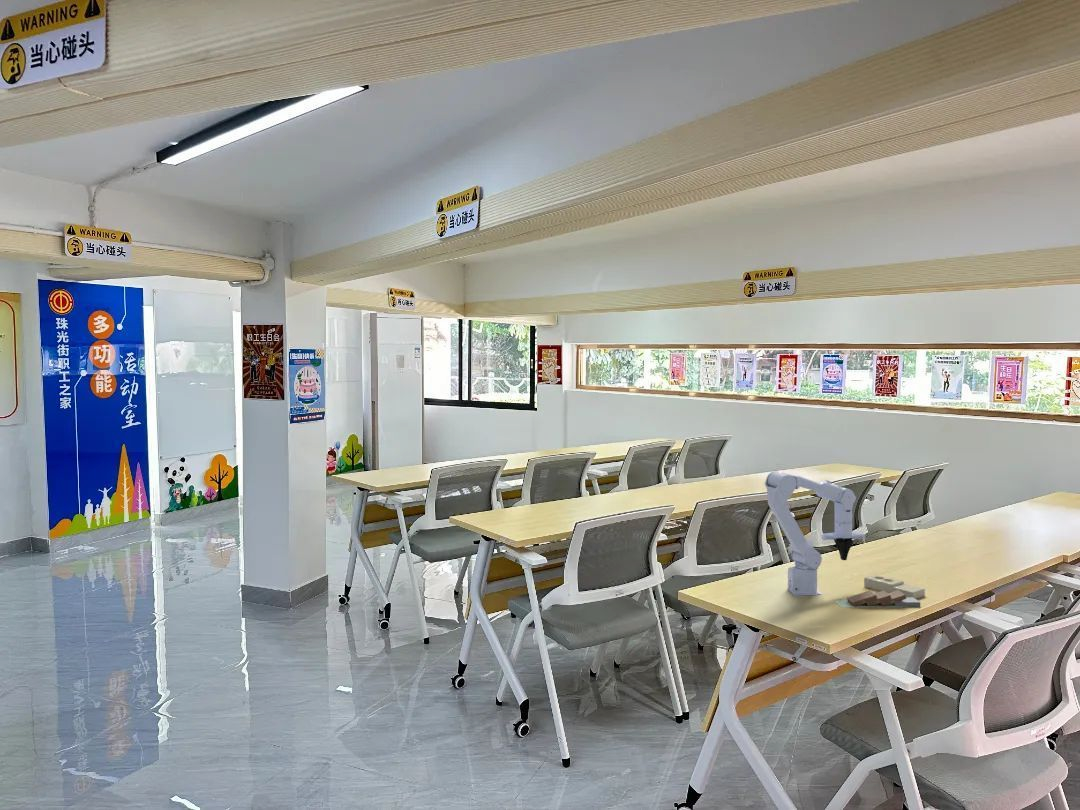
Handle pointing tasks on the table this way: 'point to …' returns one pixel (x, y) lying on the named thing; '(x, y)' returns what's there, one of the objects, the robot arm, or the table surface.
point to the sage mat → (846, 604)
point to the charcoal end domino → (907, 602)
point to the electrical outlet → (892, 586)
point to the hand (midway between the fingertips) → (843, 559)
